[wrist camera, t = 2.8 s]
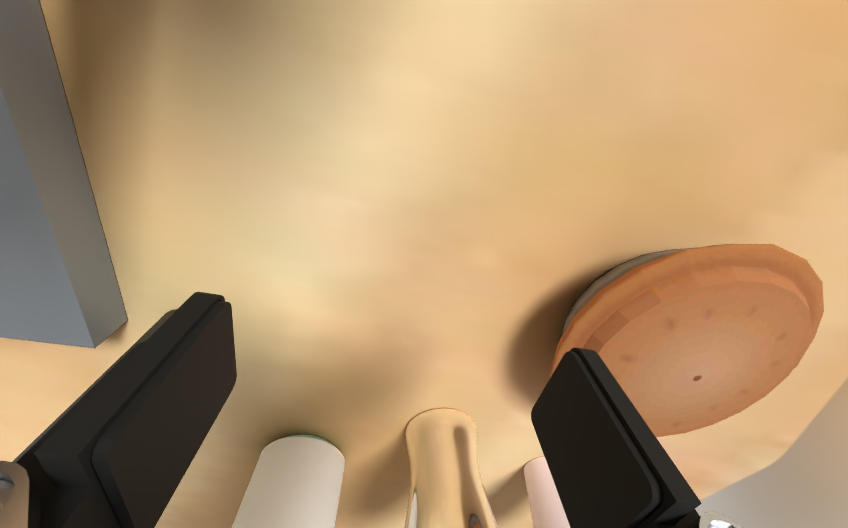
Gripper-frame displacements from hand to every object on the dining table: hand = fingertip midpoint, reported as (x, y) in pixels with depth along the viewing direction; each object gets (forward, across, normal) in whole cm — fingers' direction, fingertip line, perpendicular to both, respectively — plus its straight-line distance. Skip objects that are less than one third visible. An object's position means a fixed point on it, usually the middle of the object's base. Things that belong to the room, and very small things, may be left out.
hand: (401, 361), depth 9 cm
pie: (+11, -18, +4) cm, 21 cm away
